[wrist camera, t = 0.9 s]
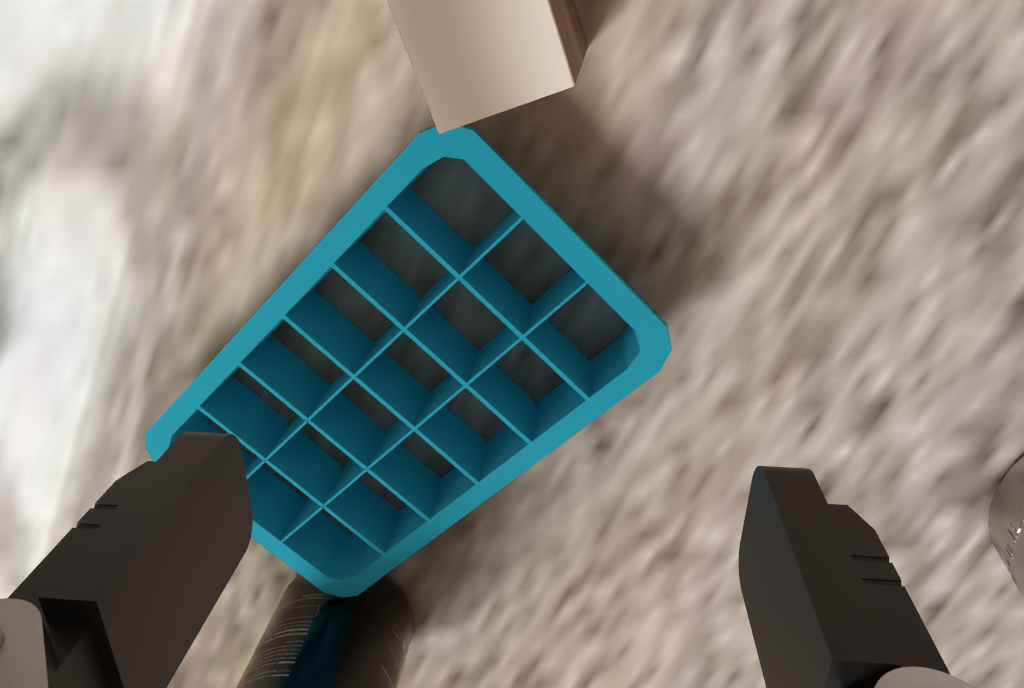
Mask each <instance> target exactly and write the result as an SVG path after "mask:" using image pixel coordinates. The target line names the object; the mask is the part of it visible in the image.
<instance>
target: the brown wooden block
mask: <svg viewBox="0 0 1024 688" xmlns="http://www.w3.org/2000/svg"><path fill="white" fill-rule="evenodd" d="M387 2H388V5H389V8H390V10H391V13H392V15H393V18H394V20H395V23H396V25H397V28H398V31H399V33H400V36H401V38H402V41H403V43H404V46H405V48H406V51H407V54H408V56H409V59H410V61H411V64H412V66H413V69H414V71H415V74H416V77H417V79H418V82H419V84H420V87H421V89H422V92H423V94H424V97H425V100H426V102H427V105H428V107H429V110H430V112H431V115H432V118H433V120H434V123H435V125H436V128H437V130H438V133H439V134H441V133H444V132H446V131H449V130H452V129H455V128H458V127H461V126H463V125H466V124H469V123H472V122H475V121H478V120H480V119H483V118H486V117H489V116H492V115H495V114H497V113H500V112H503V111H506V110H509V109H512V108H514V107H517V106H520V105H523V104H526V103H529V102H531V101H534V100H537V99H540V98H543V97H545V96H548V95H551V94H554V93H557V92H560V91H562V90H565V89H568V88H571V87H574V85H575V82H576V79H577V76H578V74H579V71H580V68H581V65H582V62H583V60H584V57H585V54H586V51H587V48H588V47H587V44H586V41H585V37H584V34H583V30H582V27H581V24H580V20H579V17H578V14H577V10H576V7H575V3H574V0H387Z"/></svg>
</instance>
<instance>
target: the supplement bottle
mask: <svg viewBox="0 0 1024 688" xmlns="http://www.w3.org/2000/svg"><path fill="white" fill-rule="evenodd" d="M412 631H413V618H412V613H411V610H410V607H409V605H408V603H407V601H406V599H405V598H404V596H403V595H402V594H401V592H400V591H399V590H398V589H397V588H396V587H395V586H394V585H393V584H392V583H390V582H389V581H388V580H386V579H385V578H383V577H382V578H381V579H379V580H378V581H376V582H375V583H374V584H372V585H371V586H370V587H368V588H367V589H366V590H364V591H363V592H362V593H360V594H359V595H358V596H350V597H338V596H335V595H331V594H328V593H324V592H322V591H321V590H320V589H318V588H317V587H316V586H314V585H313V584H312V583H311V582H309V581H308V580H307V579H305V578H304V577H303V576H301V575H299V576H297V577H296V578H295V579H294V580H293V581H292V582H291V583H290V585H289V586H288V587H287V589H286V591H285V592H284V594H283V596H282V598H281V600H280V602H279V604H278V606H277V608H276V610H275V612H274V614H273V616H272V618H271V620H270V622H269V624H268V626H267V628H266V630H265V632H264V634H263V636H262V638H261V640H260V642H259V644H258V646H257V648H256V650H255V652H254V654H253V656H252V658H251V660H250V662H249V664H248V666H247V668H246V670H245V672H244V674H243V676H242V678H241V680H240V682H239V684H238V686H237V688H397V687H398V683H399V680H400V676H401V673H402V669H403V666H404V662H405V659H406V655H407V652H408V647H409V644H410V640H411V636H412Z"/></svg>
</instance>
